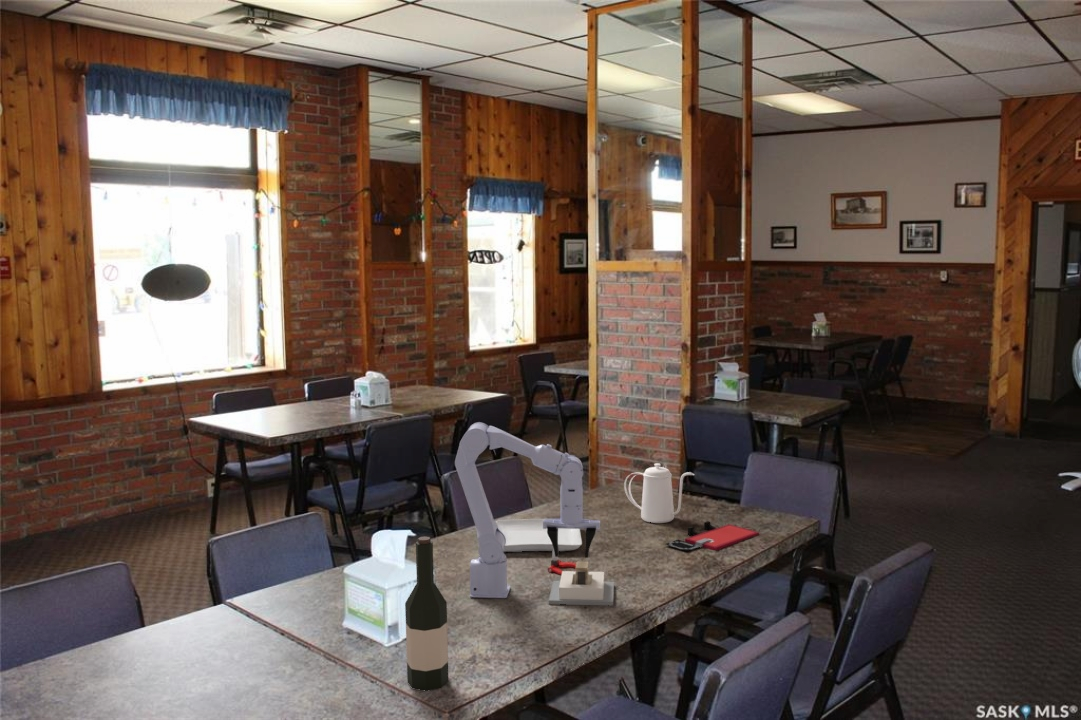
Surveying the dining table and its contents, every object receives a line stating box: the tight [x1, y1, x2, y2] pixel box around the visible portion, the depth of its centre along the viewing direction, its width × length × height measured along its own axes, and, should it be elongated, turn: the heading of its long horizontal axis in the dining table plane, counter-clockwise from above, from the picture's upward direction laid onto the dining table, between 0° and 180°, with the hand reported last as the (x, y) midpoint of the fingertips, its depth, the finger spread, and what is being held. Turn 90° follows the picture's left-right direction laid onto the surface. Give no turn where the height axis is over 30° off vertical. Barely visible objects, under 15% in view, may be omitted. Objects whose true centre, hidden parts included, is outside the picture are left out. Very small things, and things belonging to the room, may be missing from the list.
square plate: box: [495, 518, 583, 553], centre depth 273 cm, size 27×27×4 cm
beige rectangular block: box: [575, 561, 589, 585], centre depth 227 cm, size 3×5×7 cm, turn 175°
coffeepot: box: [623, 462, 695, 524], centre depth 294 cm, size 11×25×19 cm, turn 58°
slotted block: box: [548, 570, 615, 607], centre depth 228 cm, size 16×14×4 cm
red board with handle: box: [665, 520, 760, 551], centre depth 272 cm, size 30×3×15 cm
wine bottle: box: [404, 536, 449, 692], centre depth 180 cm, size 8×8×30 cm
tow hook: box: [547, 548, 576, 576], centre depth 246 cm, size 8×13×9 cm
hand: (571, 556), depth 229 cm, fingers open, 7 cm apart
